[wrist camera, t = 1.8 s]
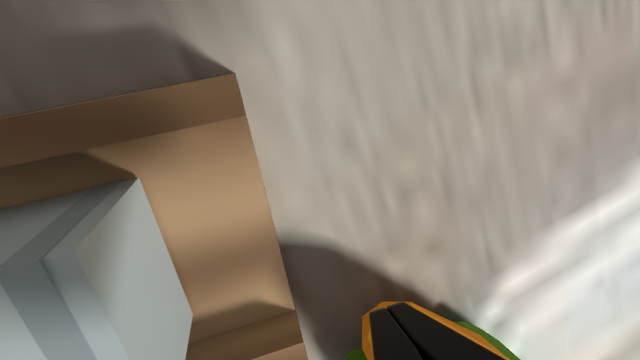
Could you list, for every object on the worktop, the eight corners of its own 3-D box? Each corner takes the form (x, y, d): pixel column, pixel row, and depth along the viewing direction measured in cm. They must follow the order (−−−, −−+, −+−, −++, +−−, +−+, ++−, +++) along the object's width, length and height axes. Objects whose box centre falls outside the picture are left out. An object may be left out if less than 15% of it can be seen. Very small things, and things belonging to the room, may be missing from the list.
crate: (193, 315, 14) (171, 446, 9) (30, 364, 13) (-92, 541, 8) (138, 176, 11) (70, 251, 7) (-63, 222, 10) (-308, 348, 6)
